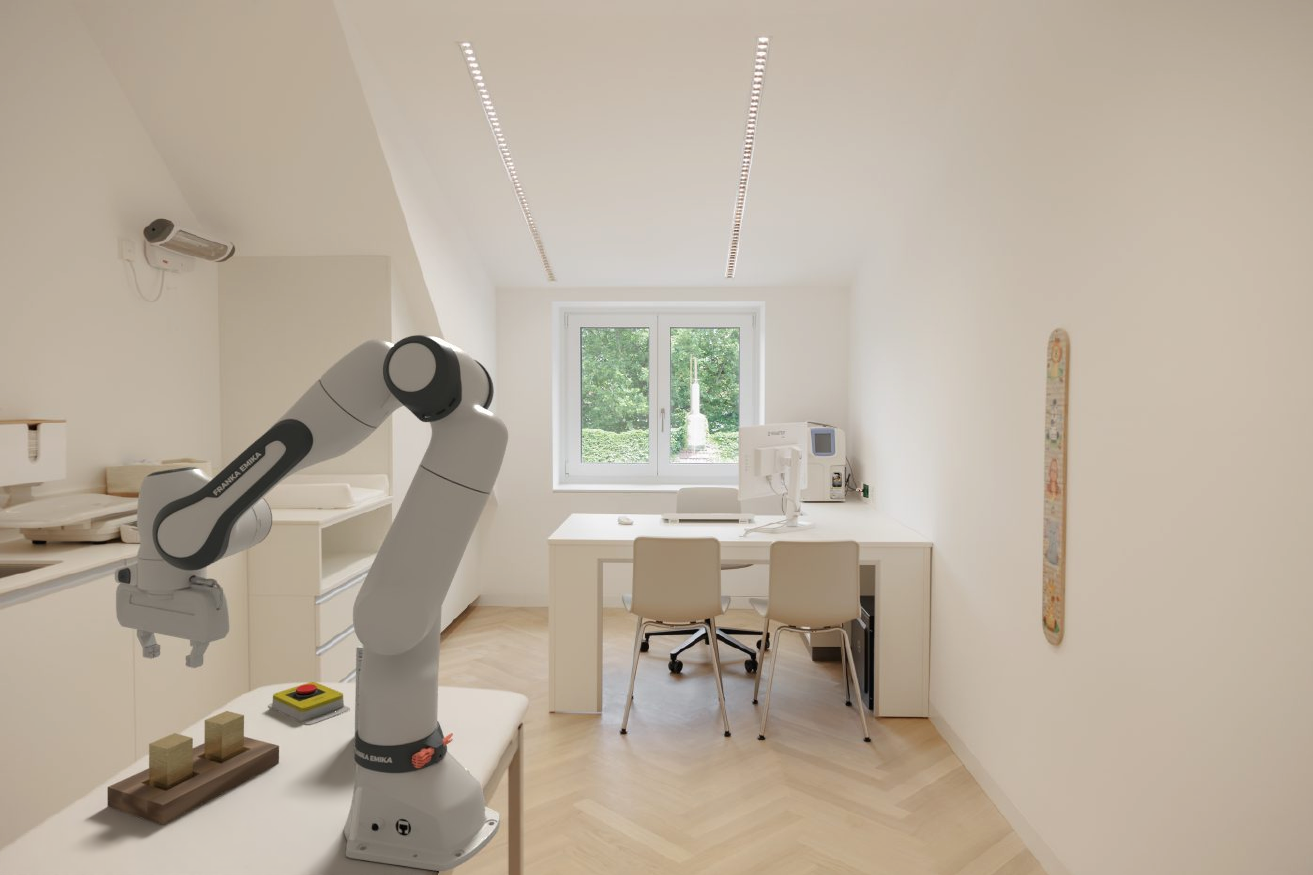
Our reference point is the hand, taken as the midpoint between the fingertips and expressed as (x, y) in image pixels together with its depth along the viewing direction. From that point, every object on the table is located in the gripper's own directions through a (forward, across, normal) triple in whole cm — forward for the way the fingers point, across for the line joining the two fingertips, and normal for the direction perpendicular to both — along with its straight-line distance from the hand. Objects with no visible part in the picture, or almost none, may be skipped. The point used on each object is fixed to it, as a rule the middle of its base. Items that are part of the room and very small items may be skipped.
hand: (172, 661), depth 111 cm
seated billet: (+21, 0, -9) cm, 23 cm away
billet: (+21, 0, 0) cm, 21 cm away
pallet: (+21, 0, -4) cm, 22 cm away
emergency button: (+22, +7, -33) cm, 40 cm away
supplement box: (+22, -14, -32) cm, 41 cm away
